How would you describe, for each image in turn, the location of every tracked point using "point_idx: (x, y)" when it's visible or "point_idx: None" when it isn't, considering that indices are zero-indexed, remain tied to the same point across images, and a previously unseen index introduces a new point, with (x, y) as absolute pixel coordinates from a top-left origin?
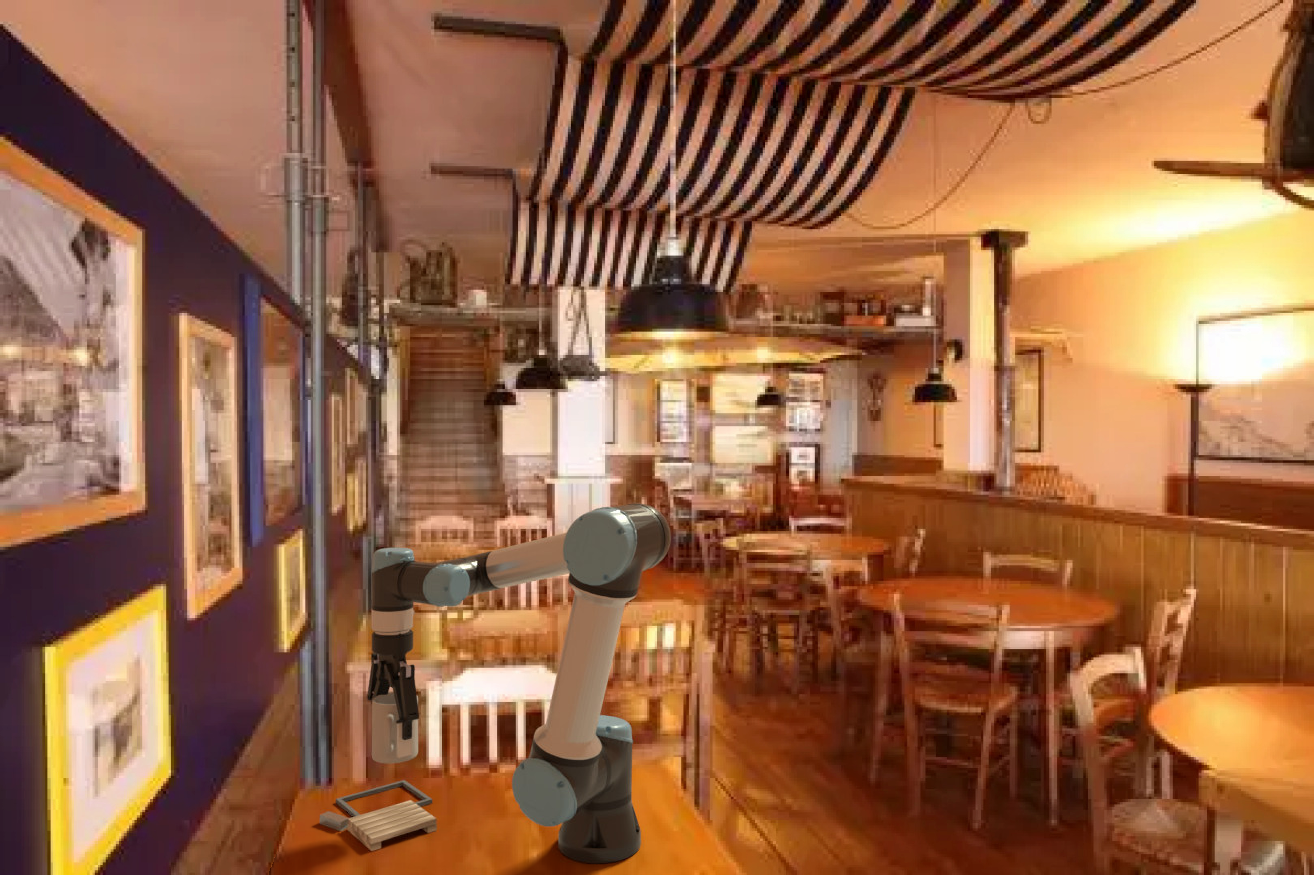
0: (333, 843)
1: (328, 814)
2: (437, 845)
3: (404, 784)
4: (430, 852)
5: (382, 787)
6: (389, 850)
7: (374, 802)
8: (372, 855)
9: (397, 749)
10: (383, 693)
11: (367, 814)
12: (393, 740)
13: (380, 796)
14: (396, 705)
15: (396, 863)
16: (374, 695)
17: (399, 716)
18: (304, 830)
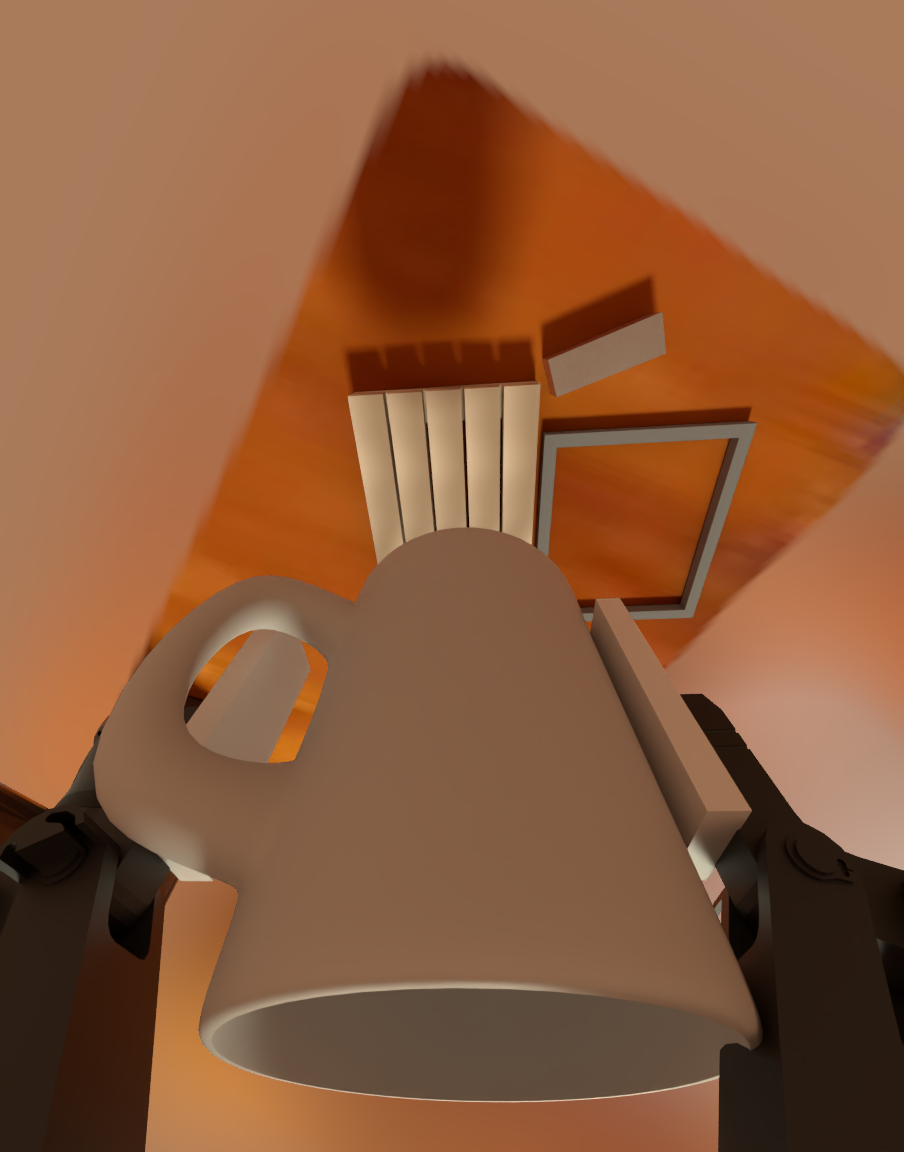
0: (473, 303)
1: (639, 343)
2: (306, 543)
3: (671, 608)
4: (277, 517)
5: (700, 561)
6: (335, 437)
7: (649, 514)
8: (328, 384)
9: (264, 638)
10: (740, 1079)
11: (524, 451)
12: (328, 665)
13: (670, 540)
14: (54, 1060)
15: (250, 424)
16: (835, 1018)
17: (78, 891)
18: (642, 239)
